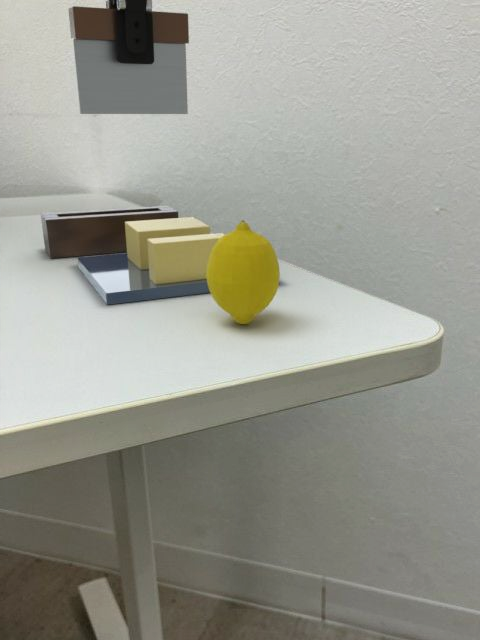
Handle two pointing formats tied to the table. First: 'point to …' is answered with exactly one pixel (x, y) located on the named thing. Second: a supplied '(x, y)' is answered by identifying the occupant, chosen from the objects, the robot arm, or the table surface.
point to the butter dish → (131, 280)
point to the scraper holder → (94, 229)
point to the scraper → (129, 65)
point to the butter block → (157, 235)
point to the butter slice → (180, 257)
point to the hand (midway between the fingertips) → (131, 61)
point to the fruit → (243, 273)
